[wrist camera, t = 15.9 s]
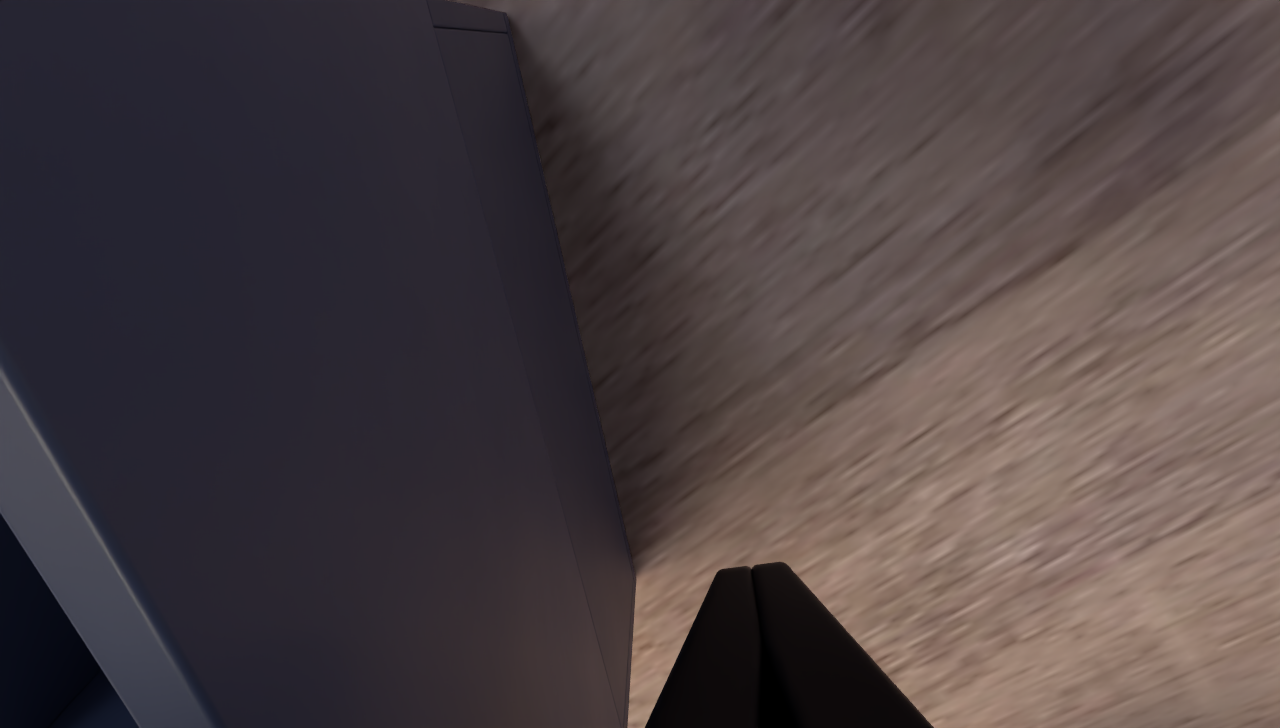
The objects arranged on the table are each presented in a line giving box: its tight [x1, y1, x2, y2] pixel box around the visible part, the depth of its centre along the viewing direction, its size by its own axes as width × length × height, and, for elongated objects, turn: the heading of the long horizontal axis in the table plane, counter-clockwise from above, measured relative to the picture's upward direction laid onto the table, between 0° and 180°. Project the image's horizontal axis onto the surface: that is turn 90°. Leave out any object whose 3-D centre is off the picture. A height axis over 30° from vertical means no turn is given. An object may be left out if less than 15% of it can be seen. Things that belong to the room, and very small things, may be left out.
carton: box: [0, 0, 636, 728], centre depth 16 cm, size 16×15×5 cm
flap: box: [0, 0, 621, 728], centre depth 8 cm, size 8×15×1 cm
